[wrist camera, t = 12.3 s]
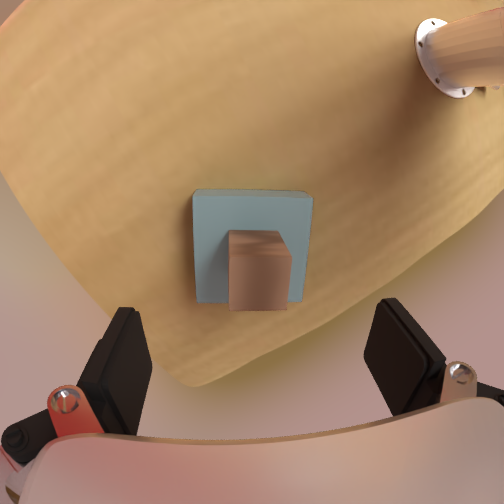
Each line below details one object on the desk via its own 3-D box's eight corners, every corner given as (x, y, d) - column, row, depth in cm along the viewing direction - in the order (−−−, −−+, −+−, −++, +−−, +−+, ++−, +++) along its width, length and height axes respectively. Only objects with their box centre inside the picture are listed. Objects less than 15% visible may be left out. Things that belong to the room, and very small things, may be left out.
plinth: (303, 191, 33) (313, 198, 29) (294, 285, 37) (301, 301, 33) (196, 189, 32) (192, 196, 28) (199, 286, 36) (196, 303, 32)
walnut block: (277, 230, 30) (292, 257, 23) (274, 274, 32) (286, 310, 25) (228, 229, 29) (229, 257, 23) (228, 274, 31) (228, 310, 25)
